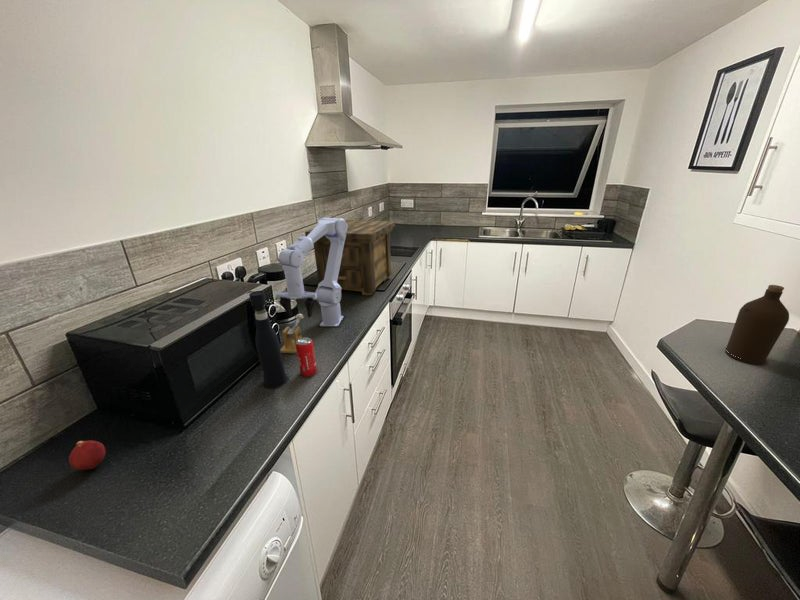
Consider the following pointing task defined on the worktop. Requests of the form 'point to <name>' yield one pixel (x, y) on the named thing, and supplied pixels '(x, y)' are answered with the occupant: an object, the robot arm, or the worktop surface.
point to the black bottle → (267, 344)
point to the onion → (87, 455)
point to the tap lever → (295, 325)
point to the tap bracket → (290, 340)
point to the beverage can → (306, 356)
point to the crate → (359, 256)
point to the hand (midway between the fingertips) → (300, 316)
